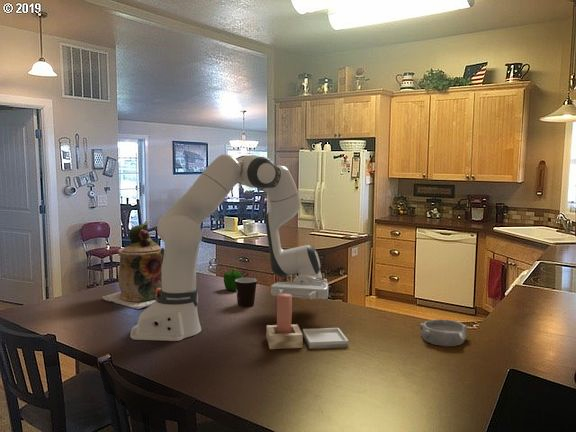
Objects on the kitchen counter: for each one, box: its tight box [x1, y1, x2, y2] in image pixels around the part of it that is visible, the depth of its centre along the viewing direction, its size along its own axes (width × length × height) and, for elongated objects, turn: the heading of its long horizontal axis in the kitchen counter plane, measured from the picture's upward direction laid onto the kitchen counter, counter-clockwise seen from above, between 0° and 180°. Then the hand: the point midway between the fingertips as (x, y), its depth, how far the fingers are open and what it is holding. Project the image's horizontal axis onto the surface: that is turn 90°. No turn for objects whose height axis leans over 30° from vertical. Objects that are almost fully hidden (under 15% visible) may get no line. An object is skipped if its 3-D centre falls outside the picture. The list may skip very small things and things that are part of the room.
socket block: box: [265, 323, 304, 350], centre depth 147 cm, size 10×10×4 cm
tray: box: [302, 327, 349, 350], centre depth 149 cm, size 12×12×2 cm
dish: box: [419, 318, 468, 347], centre depth 151 cm, size 14×14×5 cm
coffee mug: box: [235, 277, 258, 308], centre depth 189 cm, size 12×9×10 cm
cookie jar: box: [101, 220, 165, 310], centre depth 194 cm, size 25×25×32 cm
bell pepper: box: [223, 268, 243, 292], centre depth 211 cm, size 8×8×10 cm
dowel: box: [276, 294, 293, 334], centre depth 146 cm, size 4×4×15 cm
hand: (294, 296), depth 158 cm, fingers open, 8 cm apart
